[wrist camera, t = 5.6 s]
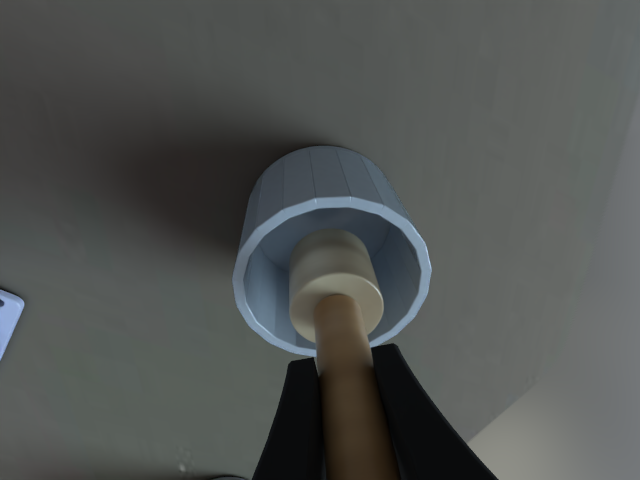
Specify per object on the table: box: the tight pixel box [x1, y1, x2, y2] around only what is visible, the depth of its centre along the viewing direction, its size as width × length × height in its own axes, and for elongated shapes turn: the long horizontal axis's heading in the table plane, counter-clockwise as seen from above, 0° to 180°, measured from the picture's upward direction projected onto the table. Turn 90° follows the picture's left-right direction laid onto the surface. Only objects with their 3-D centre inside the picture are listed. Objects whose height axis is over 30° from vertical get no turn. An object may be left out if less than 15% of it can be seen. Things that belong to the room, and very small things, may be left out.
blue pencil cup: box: [232, 146, 431, 357], centre depth 17 cm, size 7×7×6 cm
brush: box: [289, 228, 402, 480], centre depth 12 cm, size 3×3×10 cm
